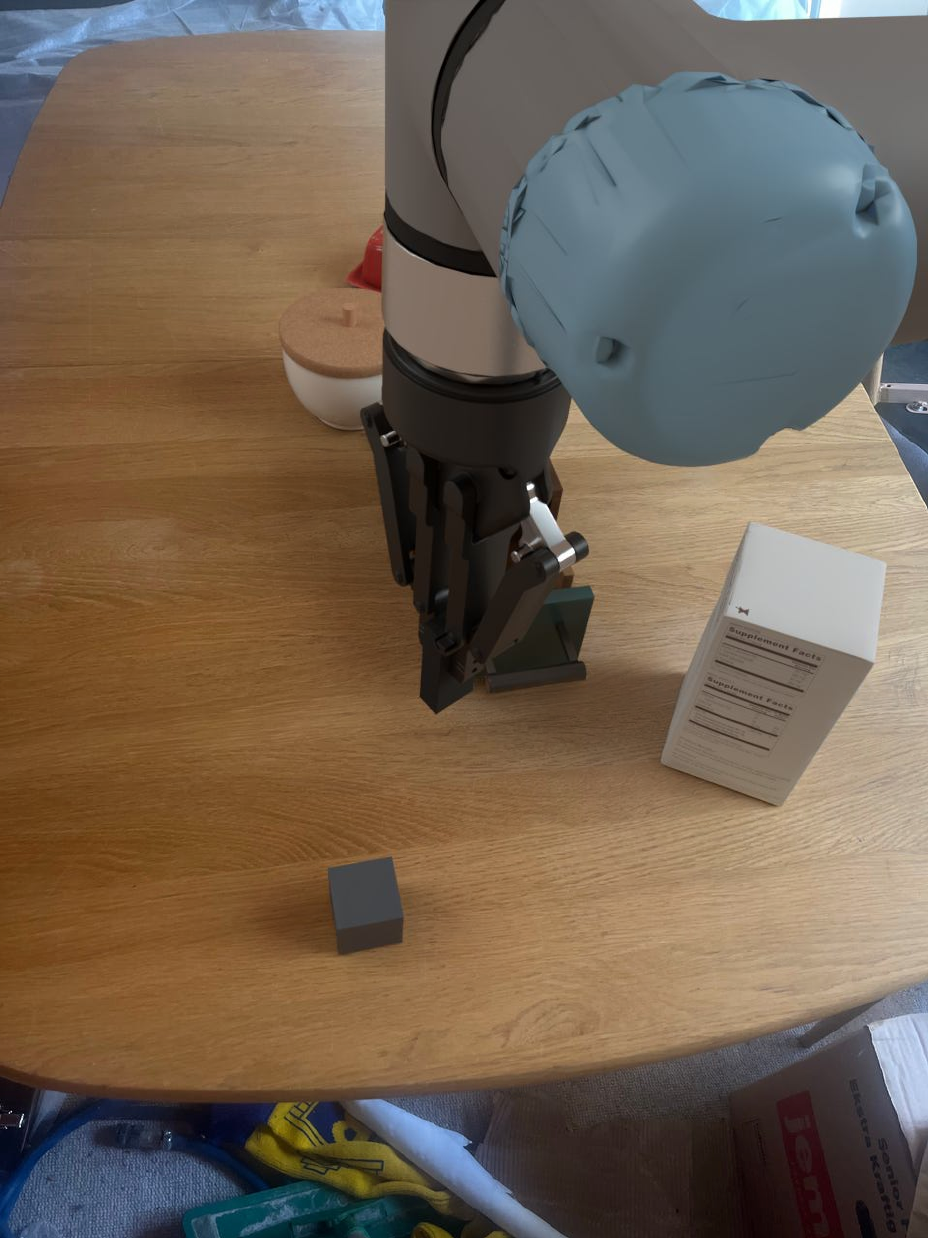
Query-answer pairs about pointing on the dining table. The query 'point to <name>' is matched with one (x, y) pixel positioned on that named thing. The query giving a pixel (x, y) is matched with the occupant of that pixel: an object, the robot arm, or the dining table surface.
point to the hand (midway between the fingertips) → (446, 693)
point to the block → (365, 905)
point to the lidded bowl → (334, 353)
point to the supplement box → (776, 662)
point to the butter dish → (369, 265)
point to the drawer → (545, 639)
